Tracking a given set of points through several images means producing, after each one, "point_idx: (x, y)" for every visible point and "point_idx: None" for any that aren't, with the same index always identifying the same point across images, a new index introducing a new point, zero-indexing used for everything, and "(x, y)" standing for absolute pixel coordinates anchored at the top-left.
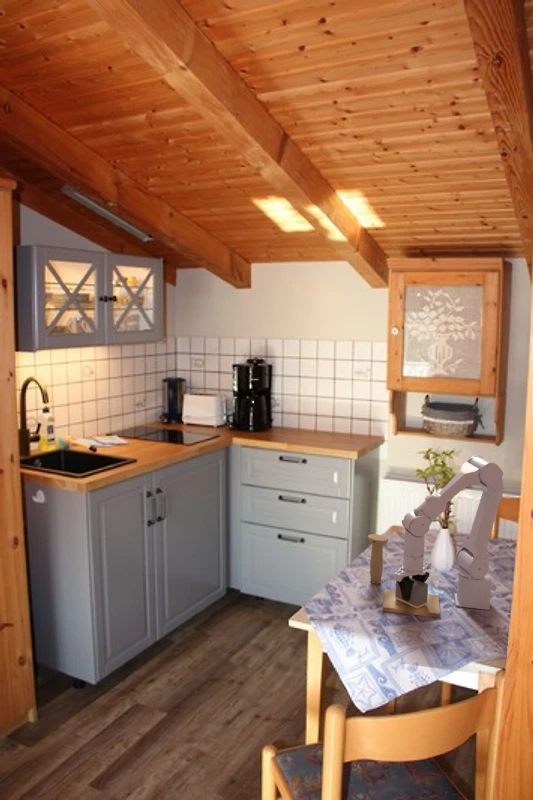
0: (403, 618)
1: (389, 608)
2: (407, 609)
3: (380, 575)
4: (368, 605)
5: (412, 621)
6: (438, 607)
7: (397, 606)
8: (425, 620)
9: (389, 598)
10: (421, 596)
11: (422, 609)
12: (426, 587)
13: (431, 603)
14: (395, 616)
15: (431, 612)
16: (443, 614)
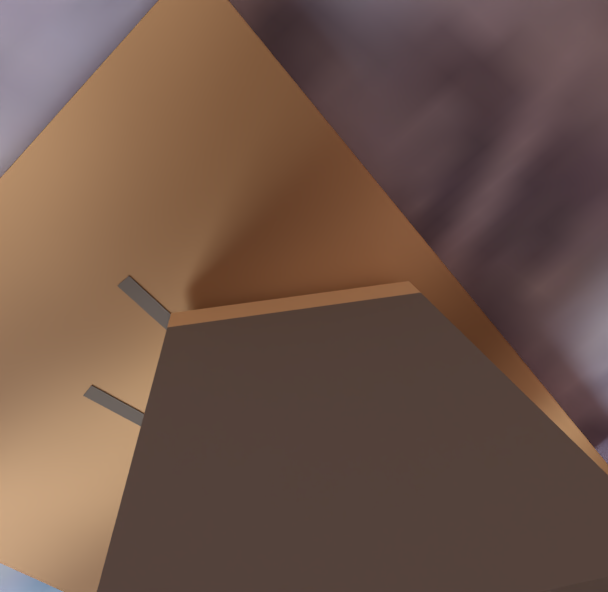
0: (588, 255)
1: (588, 443)
2: (488, 340)
3: None
4: None
5: (583, 145)
6: (43, 155)
7: None
8: (442, 60)
9: None
10: (372, 388)
11: (331, 245)
12: (192, 580)
13: (63, 312)
14: (604, 328)
15: (291, 94)
16: (54, 22)
